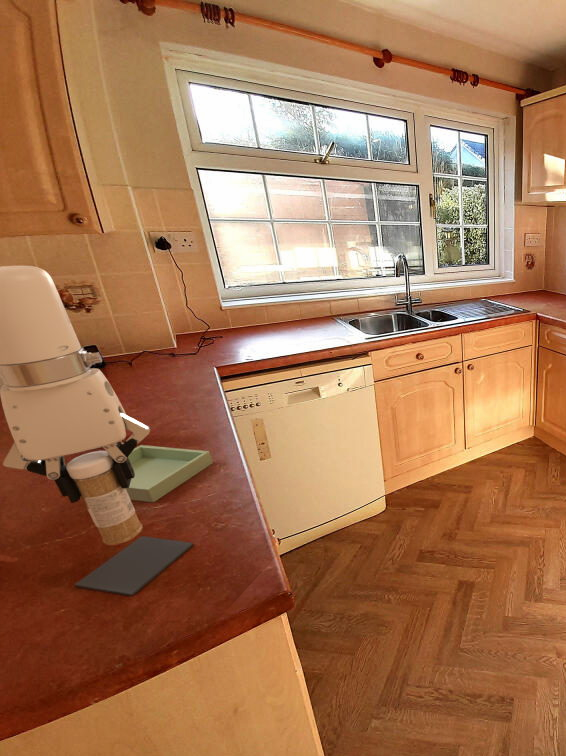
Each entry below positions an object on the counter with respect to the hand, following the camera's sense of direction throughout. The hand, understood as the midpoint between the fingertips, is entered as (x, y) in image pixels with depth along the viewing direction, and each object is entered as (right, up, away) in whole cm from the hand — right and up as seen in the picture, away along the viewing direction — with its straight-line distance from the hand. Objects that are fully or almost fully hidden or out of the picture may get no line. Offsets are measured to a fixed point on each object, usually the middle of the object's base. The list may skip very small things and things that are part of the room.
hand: (102, 489), depth 59 cm
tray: (-17, -4, +27) cm, 32 cm away
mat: (0, -13, +5) cm, 14 cm away
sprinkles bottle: (0, -8, +3) cm, 9 cm away
